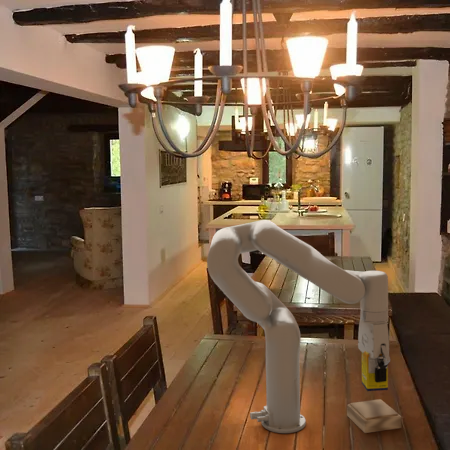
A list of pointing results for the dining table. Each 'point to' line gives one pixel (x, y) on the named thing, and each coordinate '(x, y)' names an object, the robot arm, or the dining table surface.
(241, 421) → the dining table surface
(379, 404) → the pedestal
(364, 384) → the supplement box
